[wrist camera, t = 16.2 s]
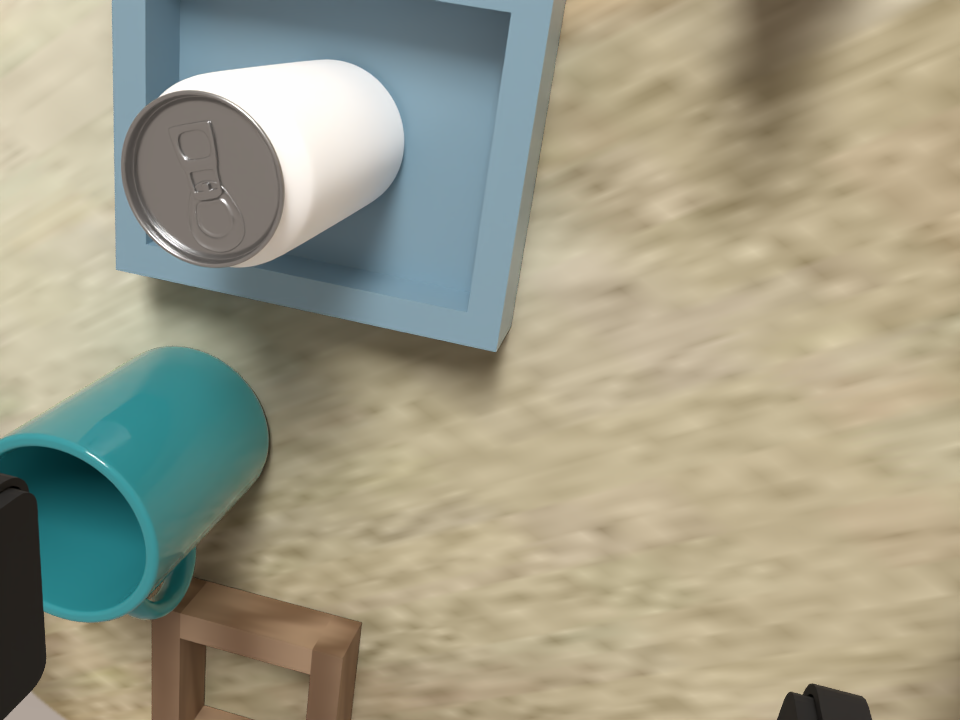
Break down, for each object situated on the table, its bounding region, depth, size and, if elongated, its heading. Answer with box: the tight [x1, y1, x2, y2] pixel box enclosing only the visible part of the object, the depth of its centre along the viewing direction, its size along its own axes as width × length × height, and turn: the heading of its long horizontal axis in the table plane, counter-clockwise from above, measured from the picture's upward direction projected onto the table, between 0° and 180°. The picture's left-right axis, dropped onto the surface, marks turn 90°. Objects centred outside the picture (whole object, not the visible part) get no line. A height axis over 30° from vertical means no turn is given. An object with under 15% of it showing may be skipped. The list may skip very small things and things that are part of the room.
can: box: [121, 59, 404, 268], centre depth 33 cm, size 6×6×12 cm
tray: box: [112, 0, 566, 352], centre depth 38 cm, size 18×15×4 cm
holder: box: [152, 577, 362, 720], centre depth 51 cm, size 11×11×3 cm
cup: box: [0, 346, 269, 623], centre depth 42 cm, size 9×12×11 cm
